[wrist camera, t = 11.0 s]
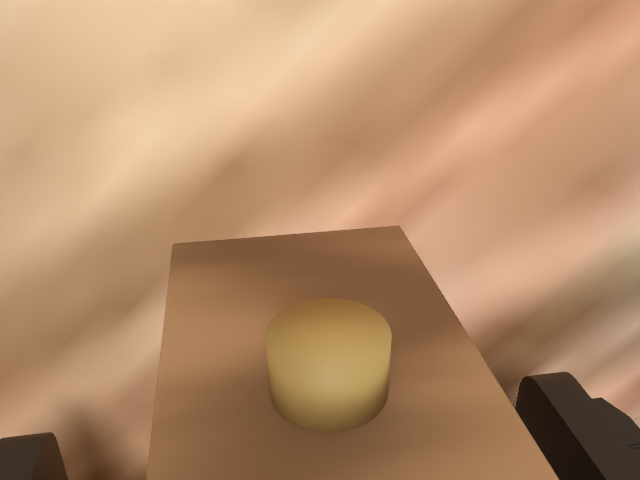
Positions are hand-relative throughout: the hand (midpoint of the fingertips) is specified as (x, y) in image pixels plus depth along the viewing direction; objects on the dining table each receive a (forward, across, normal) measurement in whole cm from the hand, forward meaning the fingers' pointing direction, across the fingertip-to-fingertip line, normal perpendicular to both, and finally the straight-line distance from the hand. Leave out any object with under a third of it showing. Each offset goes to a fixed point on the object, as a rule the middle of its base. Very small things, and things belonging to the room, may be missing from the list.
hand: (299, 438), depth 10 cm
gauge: (+2, 0, +4) cm, 5 cm away
